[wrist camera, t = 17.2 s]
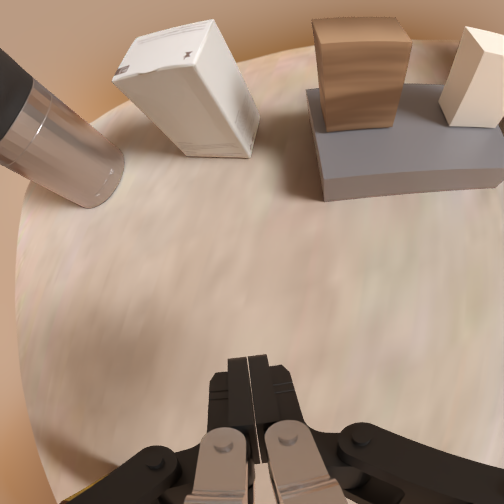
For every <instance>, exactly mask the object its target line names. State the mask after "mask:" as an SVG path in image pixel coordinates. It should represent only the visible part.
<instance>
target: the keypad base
mask: <svg viewBox="0 0 504 504" xmlns="http://www.w3.org/2000/svg"><path fill="white" fill-rule="evenodd" d="M444 86H445V85H436V84H403V88H402V93H401V97H400V101H399V104H398V108H397V112H396V116H395V120H394V123H393V127H383V128H367V129H354V130H343V131H333V132H327V131H326V126H325V122H324V118H323V114H322V110H321V104H320V91H319V88H316V89H308V90H306V96H307V103H308V111H309V118H310V124H311V129H312V134H313V139H314V144H315V149H316V155H317V160H318V166H319V172H320V178H321V184H322V190H323V197H324V202H329V201H338V200H347V199H357V198H366V197H377V196H387V195H398V194H410V193H422V192H435V191H449V190H465V189H483V188H496V187H497V186H498V185H499V184H500V183H501V182H502V181H503V180H504V136H503V134H502V132H501V130H500V127H499V125H497V126H496V128H485V127H462V126H449V124H448V122H447V120H446V117H445V115H444V113H443V111H442V109H441V106H440V104H439V102H438V101H439V99H440V96H441V94H442V91H443V88H444Z"/></svg>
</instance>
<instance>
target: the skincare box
mask: <svg viewBox="0 0 504 504" xmlns="http://www.w3.org/2000/svg"><path fill="white" fill-rule="evenodd" d="M112 82H113V84H114V85H115V86H117V88H119V89H120V90H121V91H122V92H123V93H124V94H125V95H126V96H127V97H128V98H129V99H130V100H131V101H132V102H133V103H134V104H135V105H136V106H137V107H138V108H139V109H140V110H141V111H142V112H143V113H144V114H145V115H146V116H147V117H148V118H149V119H150V120H151V121H152V122H153V123H154V124H155V125H156V126H157V127H158V128H159V129H160V130H161V131H162V132H163V133H164V134H165V135H166V136H167V137H168V138H169V139H170V140H171V141H172V142H173V143H174V144H175V145H176V146H177V147H178V148H179V149H180V150H181V151H182V152H183V153H184V154H185V155H186V156H200V157H241V158H250V157H251V154H252V150H253V145H254V141H255V137H256V133H257V130H258V126H259V122H260V114H259V112H258V109H257V107H256V105H255V103H254V100H253V98H252V96H251V94H250V92H249V90H248V88H247V85H246V83H245V81H244V79H243V77H242V75H241V73H240V71H239V68H238V66H237V64H236V62H235V60H234V58H233V56H232V54H231V52H230V51H229V48H228V46H227V44H226V42H225V41H224V38H223V37H222V34H221V33H220V31H219V29H218V27H217V25H216V23H215V21H214V20H213V19H211V20H206V21H201V22H196V23H191V24H187V25H183V26H179V27H174V28H171V29H166V30H162V31H158V32H155V33H151V34H148V35H144V36H140V37H137V38H136V39H135V41H134V42H133V44H132V45H131V47H130V48H129V50H128V52H127V54H126V55H125V57H124V59H123V61H122V62H121V64H120V66H119V68H118V70H117V71H116V74H115V75H114V77H113V79H112Z"/></svg>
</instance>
